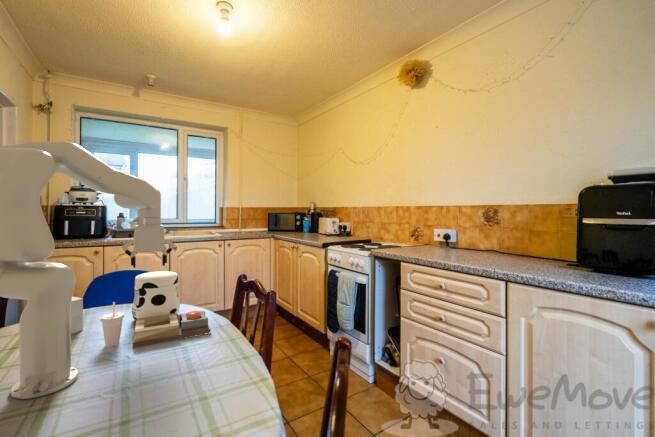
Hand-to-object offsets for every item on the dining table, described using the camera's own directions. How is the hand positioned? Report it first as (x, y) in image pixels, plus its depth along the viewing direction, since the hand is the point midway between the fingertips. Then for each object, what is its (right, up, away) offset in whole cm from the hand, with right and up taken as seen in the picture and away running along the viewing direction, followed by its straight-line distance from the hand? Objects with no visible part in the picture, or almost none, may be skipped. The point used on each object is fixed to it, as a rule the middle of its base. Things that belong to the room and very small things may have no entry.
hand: (149, 266), depth 112 cm
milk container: (-3, -23, +10) cm, 25 cm away
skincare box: (-26, -23, -5) cm, 35 cm away
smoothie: (-4, -24, -14) cm, 28 cm away
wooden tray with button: (+11, -24, -4) cm, 27 cm away
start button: (+17, -21, -1) cm, 27 cm away
